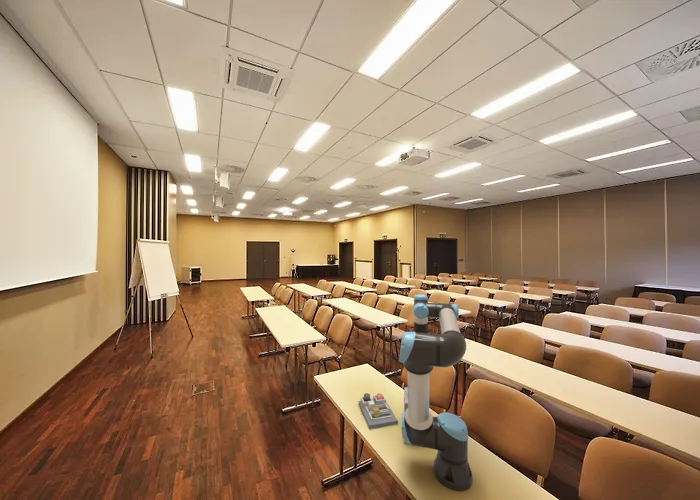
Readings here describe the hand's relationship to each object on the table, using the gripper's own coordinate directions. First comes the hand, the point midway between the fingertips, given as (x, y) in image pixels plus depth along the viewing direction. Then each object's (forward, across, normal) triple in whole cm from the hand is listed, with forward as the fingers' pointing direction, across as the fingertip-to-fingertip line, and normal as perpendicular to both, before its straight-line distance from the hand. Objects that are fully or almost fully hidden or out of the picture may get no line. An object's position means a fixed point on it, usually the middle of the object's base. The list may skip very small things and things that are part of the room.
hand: (420, 363), depth 148 cm
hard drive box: (+30, +12, +12) cm, 34 cm away
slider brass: (+27, +26, -2) cm, 38 cm away
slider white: (+27, +27, -8) cm, 39 cm away
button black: (+25, +28, -14) cm, 40 cm away
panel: (+29, +24, -7) cm, 38 cm away
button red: (+26, +20, -14) cm, 36 cm away
